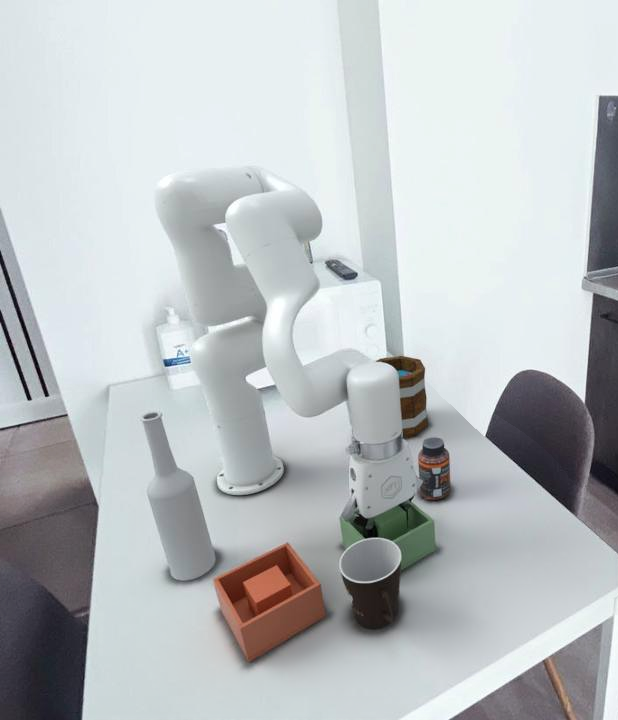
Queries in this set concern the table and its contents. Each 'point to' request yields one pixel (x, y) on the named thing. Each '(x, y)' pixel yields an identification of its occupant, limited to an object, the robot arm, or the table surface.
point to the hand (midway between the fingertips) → (386, 533)
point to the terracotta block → (267, 590)
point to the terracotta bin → (279, 619)
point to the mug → (409, 394)
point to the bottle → (176, 508)
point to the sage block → (391, 523)
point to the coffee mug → (372, 581)
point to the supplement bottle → (434, 469)
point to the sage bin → (410, 544)
